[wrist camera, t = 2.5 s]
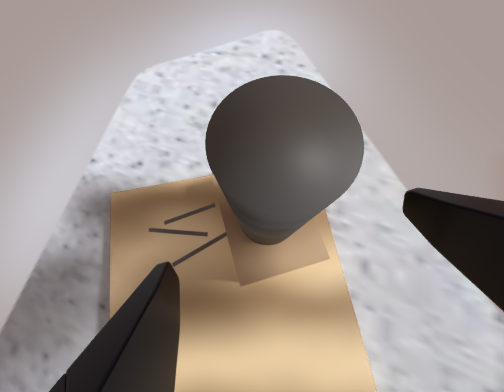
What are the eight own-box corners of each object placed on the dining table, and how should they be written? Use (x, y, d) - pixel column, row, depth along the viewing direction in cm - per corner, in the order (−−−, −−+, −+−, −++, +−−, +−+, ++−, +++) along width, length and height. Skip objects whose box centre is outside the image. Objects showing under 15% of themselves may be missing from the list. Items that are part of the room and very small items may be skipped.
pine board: (389, 463, 13) (405, 489, 12) (124, 521, 13) (107, 555, 11) (306, 165, 19) (310, 157, 17) (122, 198, 18) (110, 193, 17)
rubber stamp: (318, 259, 15) (479, 255, 4) (243, 282, 15) (198, 346, 4) (286, 170, 17) (336, 8, 6) (218, 189, 17) (143, 55, 6)
